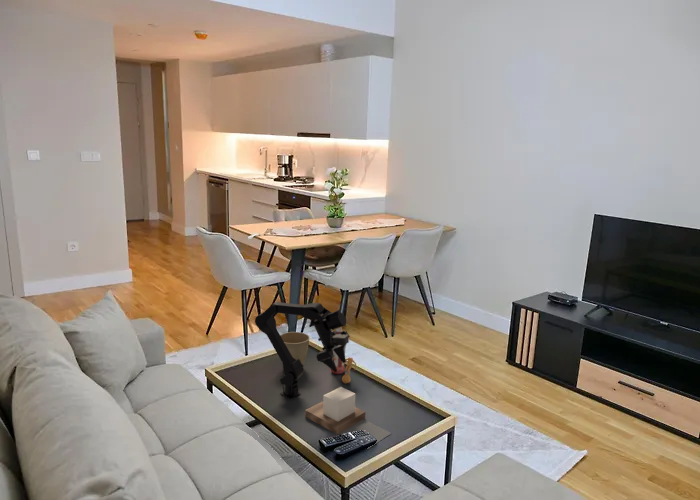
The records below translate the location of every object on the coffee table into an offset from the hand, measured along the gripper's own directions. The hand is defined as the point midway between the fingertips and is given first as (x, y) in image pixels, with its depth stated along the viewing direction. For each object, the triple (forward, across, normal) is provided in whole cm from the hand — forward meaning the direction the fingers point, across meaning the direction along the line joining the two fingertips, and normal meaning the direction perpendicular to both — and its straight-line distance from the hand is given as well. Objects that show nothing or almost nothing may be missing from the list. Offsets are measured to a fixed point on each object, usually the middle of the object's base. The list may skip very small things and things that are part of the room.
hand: (340, 367), depth 211 cm
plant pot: (0, +23, +38) cm, 45 cm away
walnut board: (+16, -9, +6) cm, 20 cm away
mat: (+24, -15, -7) cm, 29 cm away
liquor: (+10, +28, +20) cm, 36 cm away
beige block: (+15, -10, +3) cm, 18 cm away
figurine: (+13, +21, +12) cm, 28 cm away
